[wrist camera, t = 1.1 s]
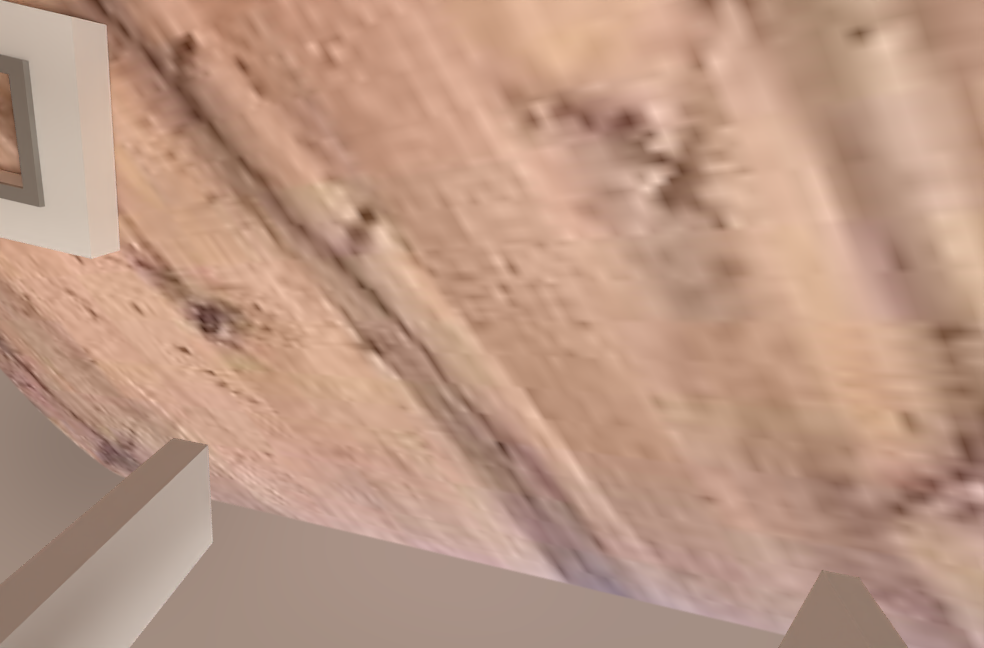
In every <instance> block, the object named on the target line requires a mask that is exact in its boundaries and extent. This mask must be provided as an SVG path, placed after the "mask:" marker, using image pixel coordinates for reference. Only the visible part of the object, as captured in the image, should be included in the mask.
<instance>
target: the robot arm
mask: <svg viewBox="0 0 984 648" xmlns="http://www.w3.org/2000/svg"><path fill="white" fill-rule="evenodd" d="M211 519H212V518H211V496H210V474H209V453H208V445H206V444H201V443H196V442H191V441H186V440H181V439H176V438H173V439H171V440H170V441H169V442H168V443H167V444H166V445H164V446H163V447H162V448H161V449H160V450H158V451H157V452H156V453H155V454H154V455H153V456H151V457H150V458H149V459H148V460H147V461H145V462H144V463H143V464H142V465H141V466H140V467H138V468H137V469H136V470H135V471H134V472H132V473H131V474H130V475H129V476H128V477H127V478H125V479H124V480H123V481H122V482H121V483H119V484H118V485H117V486H116V487H115V488H114V489H112V490H111V491H110V492H109V493H108V494H107V495H105V496H104V497H103V498H102V499H101V500H99V501H98V502H97V503H96V504H95V505H94V506H92V507H91V508H90V509H89V510H88V511H86V512H85V513H84V514H83V515H82V516H81V517H79V518H78V519H77V520H76V521H75V522H73V523H72V524H71V525H70V526H69V527H68V528H66V529H65V530H64V531H63V532H62V533H61V534H59V535H58V536H57V537H56V538H55V539H53V540H52V541H51V542H50V543H49V544H48V545H46V546H45V547H44V548H43V549H42V550H40V551H39V552H38V553H37V554H36V555H35V556H33V557H32V558H31V559H30V560H29V561H27V562H26V563H25V564H24V565H23V566H22V567H20V568H19V569H18V570H17V571H16V572H14V573H13V574H12V575H11V576H10V577H9V578H7V579H6V580H5V581H4V582H3V583H1V584H0V648H130V646H131V645H132V644H133V643H134V641H135V640H136V639H137V637H138V636H139V635H140V634H141V632H142V631H143V630H144V629H145V627H146V626H147V625H148V624H149V622H150V621H151V620H152V618H153V617H154V616H155V615H156V613H157V612H158V611H159V610H160V608H161V607H162V606H163V605H164V603H165V602H166V601H167V600H168V598H169V597H170V596H171V594H172V593H173V592H174V591H175V589H176V588H177V587H178V586H179V584H180V583H181V582H182V580H183V579H184V578H185V577H186V575H187V574H188V573H189V572H190V570H191V569H192V568H193V567H194V565H195V564H196V563H197V562H198V560H199V559H200V558H201V556H202V555H203V554H204V553H205V551H206V550H207V549H208V547H209V546H210V545H211V544H212V543H213V539H212V520H211ZM778 648H908V647H907V645H906V644H905V643H904V641H903V640H902V638H901V637H900V635H899V634H898V633H897V631H896V630H895V628H894V627H893V625H892V624H891V623H890V621H889V620H888V618H887V617H886V615H885V614H884V613H883V611H882V610H881V608H880V607H879V605H878V604H877V603H876V601H875V600H874V598H873V597H872V595H871V594H870V593H869V591H868V590H867V588H866V587H865V585H864V584H863V583H862V581H861V580H860V578H858V577H854V576H849V575H844V574H839V573H834V572H829V571H824V570H822V571H821V573H820V575H819V577H818V578H817V580H816V582H815V584H814V585H813V587H812V589H811V591H810V592H809V594H808V596H807V598H806V600H805V601H804V603H803V605H802V607H801V608H800V610H799V612H798V614H797V616H796V617H795V619H794V621H793V623H792V624H791V626H790V628H789V630H788V631H787V633H786V635H785V637H784V639H783V640H782V642H781V644H780V646H779V647H778Z"/></svg>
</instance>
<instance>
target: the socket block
mask: <svg viewBox="0 0 984 648" xmlns="http://www.w3.org/2000/svg"><path fill="white" fill-rule="evenodd" d="M0 72H2V73H6V74H9V81H10V89H11V97H12V105H13V113H14V121H15V128H16V136H17V144H18V152H19V160H20V168H21V174H17V173H12V172H8V171H4V170H0V237H1V238H5V239H10V240H14V241H18V242H22V243H27V244H31V245H35V246H39V247H44V248H48V249H52V250H56V251H61V252H65V253H69V254H73V255H78V256H82V257H86V258H90V259H92V258H96V257H99V256H103V255H106V254H110V253H113V252H117V251H120V241H119V224H118V208H117V191H116V175H115V158H114V142H113V125H112V109H111V92H110V76H109V59H108V43H107V26H106V25H105V24H101V23H96V22H92V21H88V20H84V19H80V18H76V17H71V16H67V15H63V14H59V13H54V12H50V11H46V10H41V9H37V8H33V7H28V6H24V5H20V4H16V3H11V2H7V1H3V0H0Z"/></svg>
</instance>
